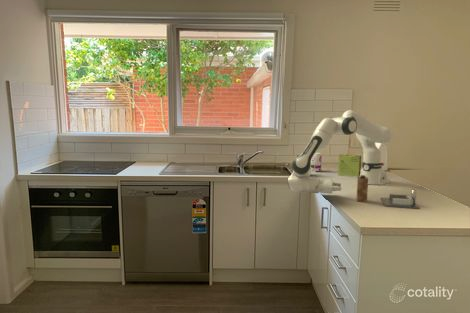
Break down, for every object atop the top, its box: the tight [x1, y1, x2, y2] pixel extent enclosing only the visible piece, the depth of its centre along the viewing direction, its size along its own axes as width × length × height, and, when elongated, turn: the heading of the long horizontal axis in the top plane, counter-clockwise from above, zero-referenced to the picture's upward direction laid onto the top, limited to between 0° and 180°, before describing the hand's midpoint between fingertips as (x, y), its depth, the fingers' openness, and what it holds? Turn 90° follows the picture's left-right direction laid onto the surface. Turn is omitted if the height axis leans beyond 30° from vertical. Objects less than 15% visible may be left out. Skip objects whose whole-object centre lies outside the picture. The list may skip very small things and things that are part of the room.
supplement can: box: [310, 152, 323, 172], centre depth 260 cm, size 8×8×15 cm
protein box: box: [337, 153, 362, 178], centre depth 244 cm, size 10×15×16 cm
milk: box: [375, 143, 388, 172], centre depth 265 cm, size 12×12×26 cm
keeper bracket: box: [380, 189, 420, 210], centre depth 169 cm, size 16×14×8 cm
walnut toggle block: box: [356, 175, 369, 203], centre depth 175 cm, size 5×5×14 cm
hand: (341, 186), depth 178 cm, fingers open, 8 cm apart
